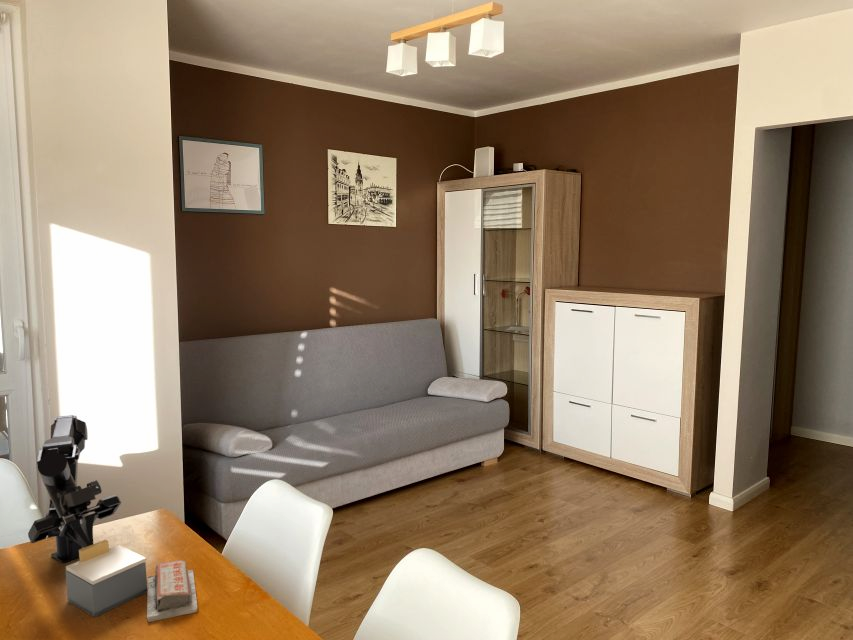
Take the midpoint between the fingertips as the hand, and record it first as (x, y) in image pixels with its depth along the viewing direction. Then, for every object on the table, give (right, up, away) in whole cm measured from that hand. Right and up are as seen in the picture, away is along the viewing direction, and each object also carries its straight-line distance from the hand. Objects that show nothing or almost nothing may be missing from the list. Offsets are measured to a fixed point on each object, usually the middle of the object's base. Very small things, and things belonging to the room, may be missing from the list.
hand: (91, 550), depth 147 cm
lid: (+5, -2, -3) cm, 6 cm away
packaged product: (+19, -10, -2) cm, 21 cm away
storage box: (+5, -10, -2) cm, 11 cm away
